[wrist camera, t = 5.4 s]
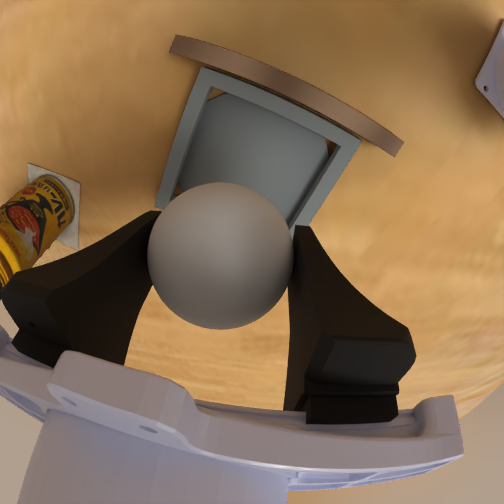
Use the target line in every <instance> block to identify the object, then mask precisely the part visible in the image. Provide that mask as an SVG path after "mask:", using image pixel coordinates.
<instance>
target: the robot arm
mask: <svg viewBox="0 0 504 504" xmlns="http://www.w3.org/2000/svg"><path fill="white" fill-rule="evenodd" d="M475 85H476V87H477V89H478V90H479V91H480V92H481V93H482V94H483V95H484V96H485V97H486V98H487V100H488V101H489V102H490V103H491V104H492V105H493V106H494V108H495V109H496V110H497V111H498V112H499V114H500V115H501V116H502V117H503V118H504V21H503V23H502V26H501V28H500V30H499V32H498V35H497V37H496V39H495V41H494V44H493V46H492V48H491V50H490V52H489V54H488V56H487V58H486V60H485V62H484V64H483V66H482V68H481V70H480V72H479V74H478V76H477V78H476V80H475ZM484 86H485V87H486V90H485V91H484ZM161 212H162V211H148V212H146V213H144V214H143V215H141V216H139V217H138V218H136V219H134V220H133V221H131V222H129V223H128V224H126V225H125V226H123V227H121V228H120V229H118V230H117V231H115V232H113V233H112V234H110V235H108V236H106V237H105V238H103V239H101V240H100V241H98V242H96V243H94V244H92V245H90V246H88V247H86V248H84V249H82V250H80V251H78V252H76V253H73V254H71V255H69V256H66V257H64V258H61V259H59V260H56V261H53V262H50V263H47V264H44V265H41V266H38V267H34V268H30V269H26V270H22V271H17V272H16V273H15V274H14V275H13V276H12V277H11V279H10V280H9V281H8V282H7V284H6V285H5V286H4V287H3V289H2V290H1V299H2V302H3V304H4V306H5V308H6V310H7V311H8V313H9V314H10V316H11V317H12V319H13V320H14V322H15V323H16V325H17V326H18V328H19V331H18V332H17V334H16V336H15V337H14V339H12V338H10V337H9V335H8V333H7V332H6V331H5V330H4V328H3V327H2V326H1V325H0V395H1V396H2V397H4V398H5V399H7V400H8V401H9V402H11V403H12V404H14V405H15V406H17V407H18V408H20V409H21V410H23V411H24V412H26V413H27V414H29V415H31V416H32V417H34V418H35V419H37V420H39V421H40V422H42V423H44V424H43V426H42V429H41V431H40V434H39V436H38V439H37V442H36V445H35V447H34V450H33V453H32V456H31V459H30V462H29V465H28V468H27V471H26V474H25V478H24V481H23V484H22V488H21V491H20V495H19V499H18V503H17V504H286V503H287V492H288V491H304V490H305V491H306V490H325V489H338V488H347V487H355V486H363V485H370V484H376V483H382V482H388V481H393V480H398V479H403V478H408V477H412V476H417V475H421V474H425V473H428V472H430V471H432V470H435V469H437V468H439V467H441V466H444V465H446V464H448V463H450V462H452V461H454V460H456V459H458V458H460V457H462V456H463V455H464V448H463V441H462V435H461V430H460V424H459V419H458V414H457V410H456V405H455V401H454V397H453V395H445V396H438V397H431V398H427V399H424V400H422V401H421V402H419V403H418V404H417V405H416V406H415V407H414V409H405V410H398V406H397V400H396V395H398V394H399V385H398V382H399V381H400V380H401V378H402V377H403V376H404V375H405V374H406V373H407V372H408V370H409V369H410V368H411V367H412V365H413V364H414V362H415V359H416V352H415V349H414V344H413V341H412V337H411V335H410V332H409V329H408V328H407V327H406V326H404V325H403V324H401V323H400V322H398V321H396V320H395V319H393V318H392V317H390V316H389V315H387V314H386V313H384V312H383V311H382V310H380V309H379V308H378V307H376V306H375V305H374V304H373V303H371V302H370V301H369V300H368V299H367V298H366V297H364V296H363V295H362V294H361V293H360V292H359V291H358V290H357V289H356V288H355V287H354V286H353V285H352V284H351V283H350V282H349V281H348V280H347V279H346V278H345V277H344V276H343V274H342V273H341V272H340V271H339V270H338V268H337V267H336V266H335V264H334V263H333V262H332V260H331V259H330V258H329V256H328V255H327V253H326V252H325V250H324V249H323V247H322V245H321V244H320V242H319V241H318V239H317V237H316V236H315V234H314V232H313V230H312V229H311V227H310V226H303V225H295V229H294V235H293V241H292V242H293V249H294V262H293V271H292V274H291V278H290V281H289V284H288V302H289V320H290V341H289V355H288V368H287V379H286V389H285V398H284V407H283V411H281V410H269V409H259V408H250V407H242V406H234V405H227V404H220V403H214V402H208V401H202V400H197V399H193V397H192V396H191V395H190V393H189V392H188V391H187V390H186V389H185V388H184V387H183V386H181V385H179V384H177V383H176V382H174V381H172V380H170V379H168V378H165V377H162V376H159V375H156V374H153V373H150V372H146V371H142V370H138V369H134V368H130V367H126V366H124V363H125V359H126V355H127V351H128V347H129V343H130V340H131V336H132V333H133V329H134V326H135V323H136V320H137V318H138V315H139V312H140V310H141V307H142V305H143V303H144V301H145V299H146V297H147V295H148V293H149V291H150V289H151V287H152V285H153V283H152V280H151V277H150V274H149V269H148V261H147V251H148V243H149V238H150V234H151V231H152V229H153V226H154V224H155V222H156V220H157V219H158V217H159V215H160V214H161Z"/></svg>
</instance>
